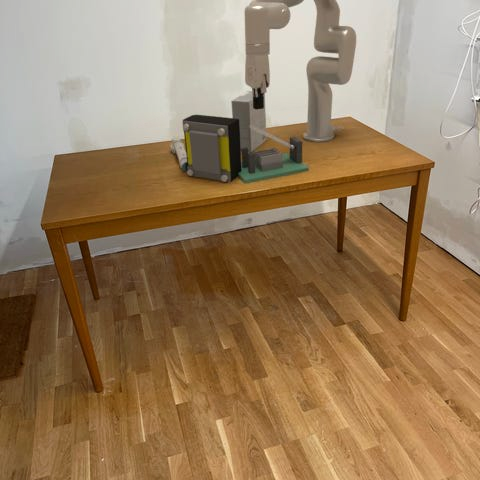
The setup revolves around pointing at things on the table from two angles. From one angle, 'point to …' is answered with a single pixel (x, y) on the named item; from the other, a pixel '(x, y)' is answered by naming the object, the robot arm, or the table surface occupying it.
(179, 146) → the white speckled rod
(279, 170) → the board
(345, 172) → the table surface
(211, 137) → the electrical component
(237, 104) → the hard drive box
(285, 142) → the grey long flat bar
